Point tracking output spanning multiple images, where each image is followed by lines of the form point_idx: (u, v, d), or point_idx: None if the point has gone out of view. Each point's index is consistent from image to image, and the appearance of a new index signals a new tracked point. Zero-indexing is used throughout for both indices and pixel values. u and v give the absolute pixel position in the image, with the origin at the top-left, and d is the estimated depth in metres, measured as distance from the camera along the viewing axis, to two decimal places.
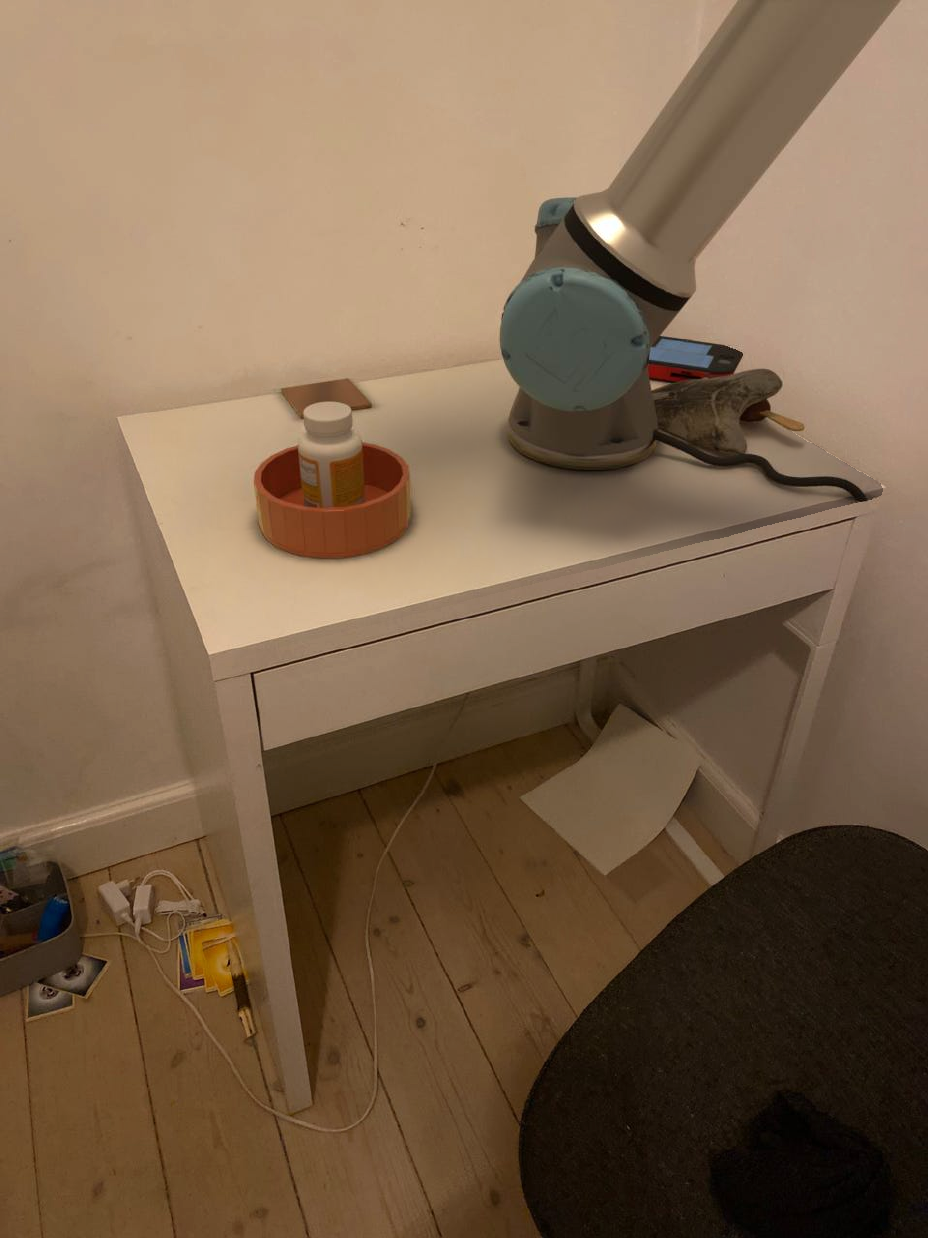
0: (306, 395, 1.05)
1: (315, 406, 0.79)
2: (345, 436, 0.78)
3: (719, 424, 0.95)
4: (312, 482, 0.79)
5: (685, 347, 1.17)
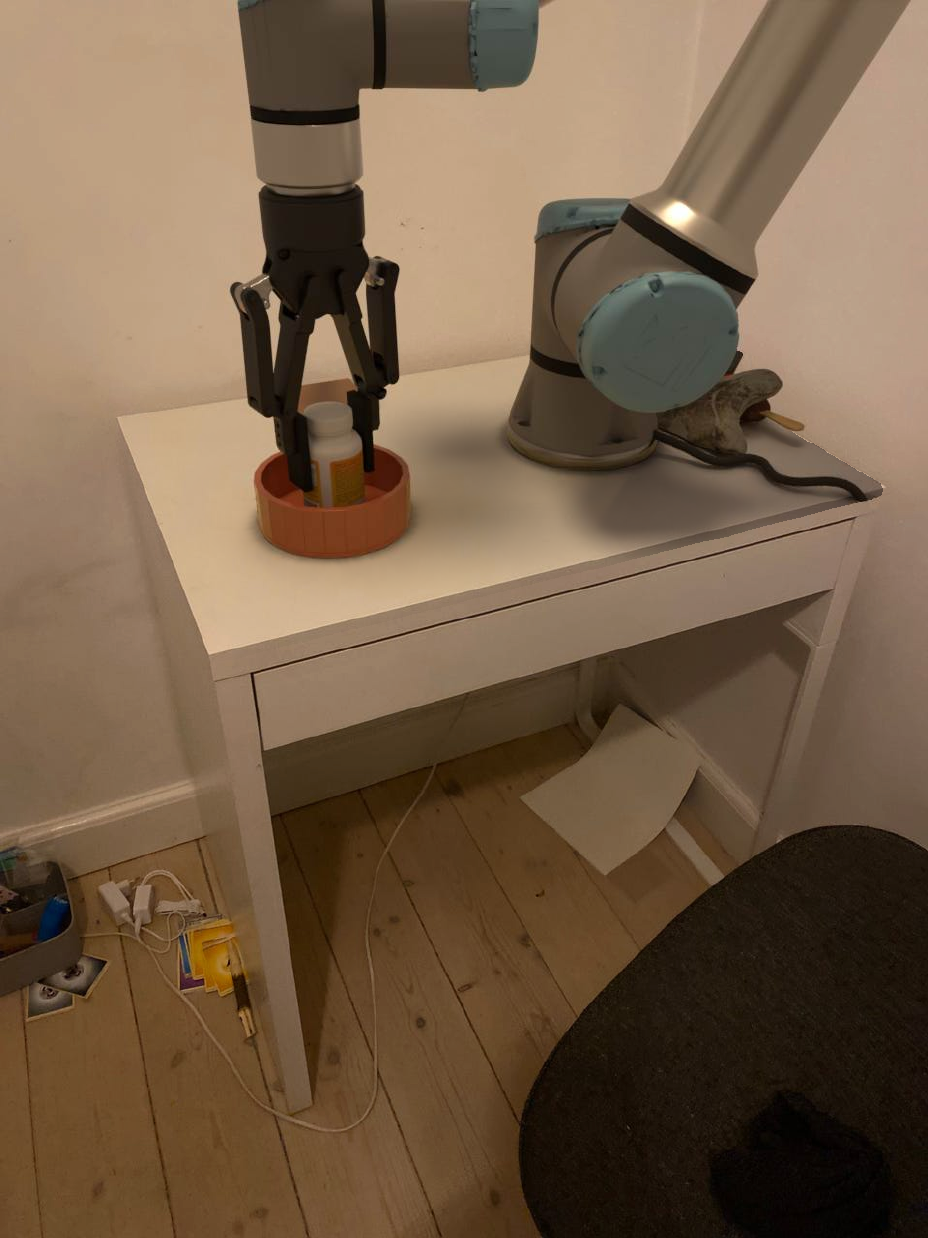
0: (306, 395, 1.05)
1: (315, 406, 0.79)
2: (345, 436, 0.78)
3: (719, 424, 0.95)
4: (312, 482, 0.79)
5: None
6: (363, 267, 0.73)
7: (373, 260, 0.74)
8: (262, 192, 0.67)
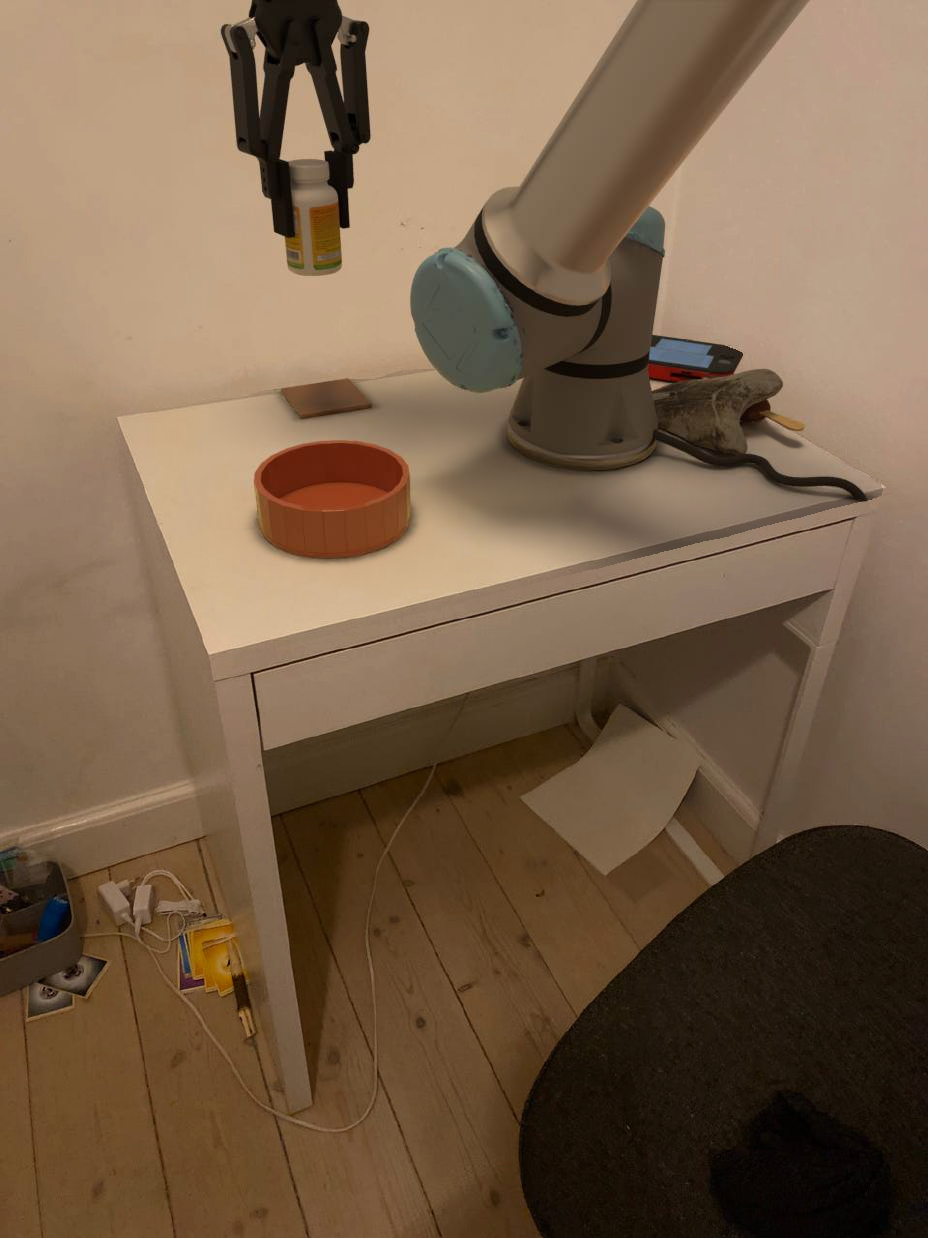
0: (306, 395, 1.05)
1: (296, 160, 0.89)
2: (322, 186, 0.89)
3: (720, 424, 0.95)
4: (294, 229, 0.90)
5: (685, 347, 1.17)
6: (337, 21, 0.83)
7: (346, 18, 0.84)
8: None
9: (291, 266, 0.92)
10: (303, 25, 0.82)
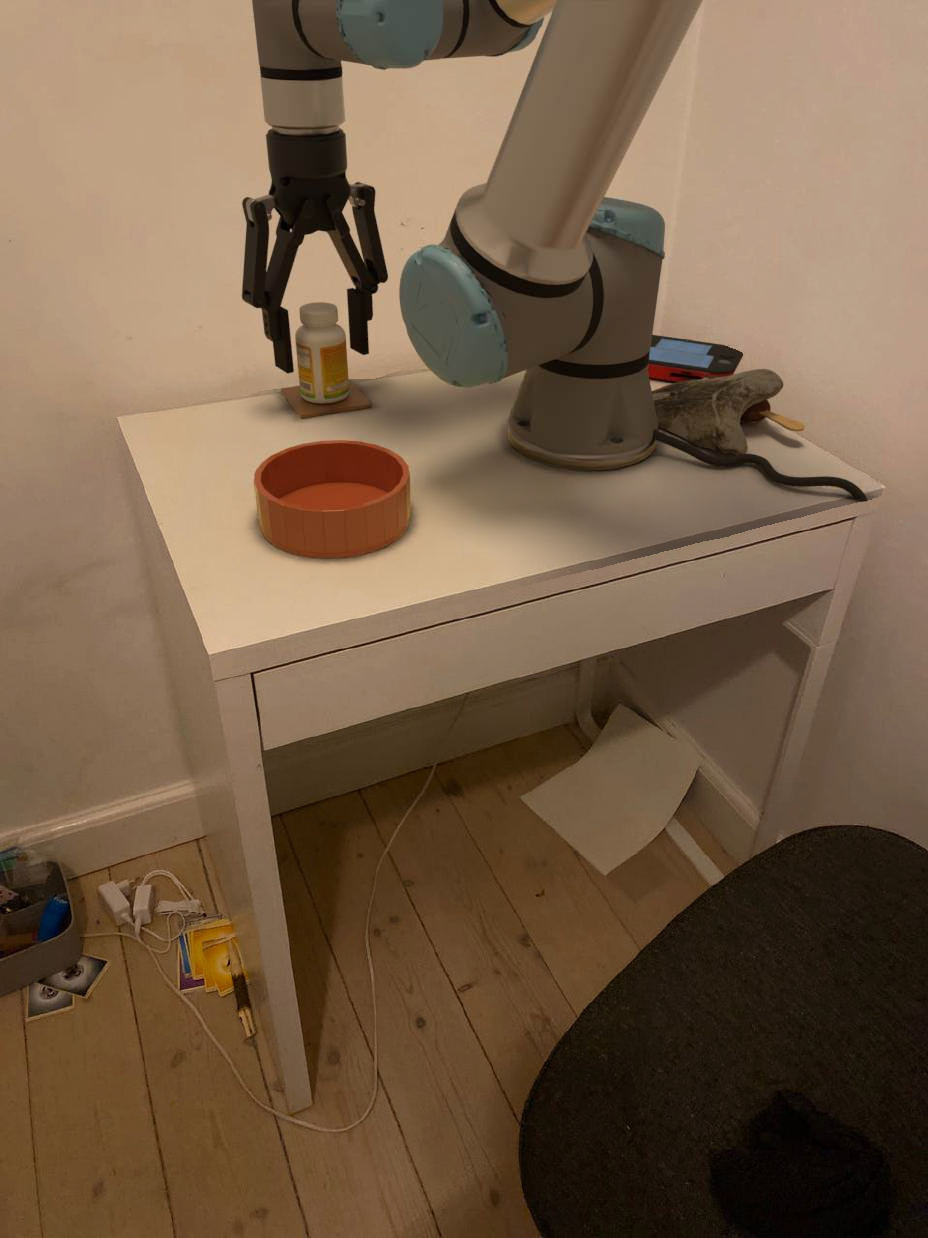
0: None
1: (308, 305, 1.01)
2: (332, 328, 1.00)
3: (720, 424, 0.95)
4: (306, 365, 1.01)
5: (685, 347, 1.17)
6: (346, 193, 0.94)
7: (354, 186, 0.95)
8: (268, 133, 0.89)
9: (304, 394, 1.04)
10: (316, 201, 0.93)
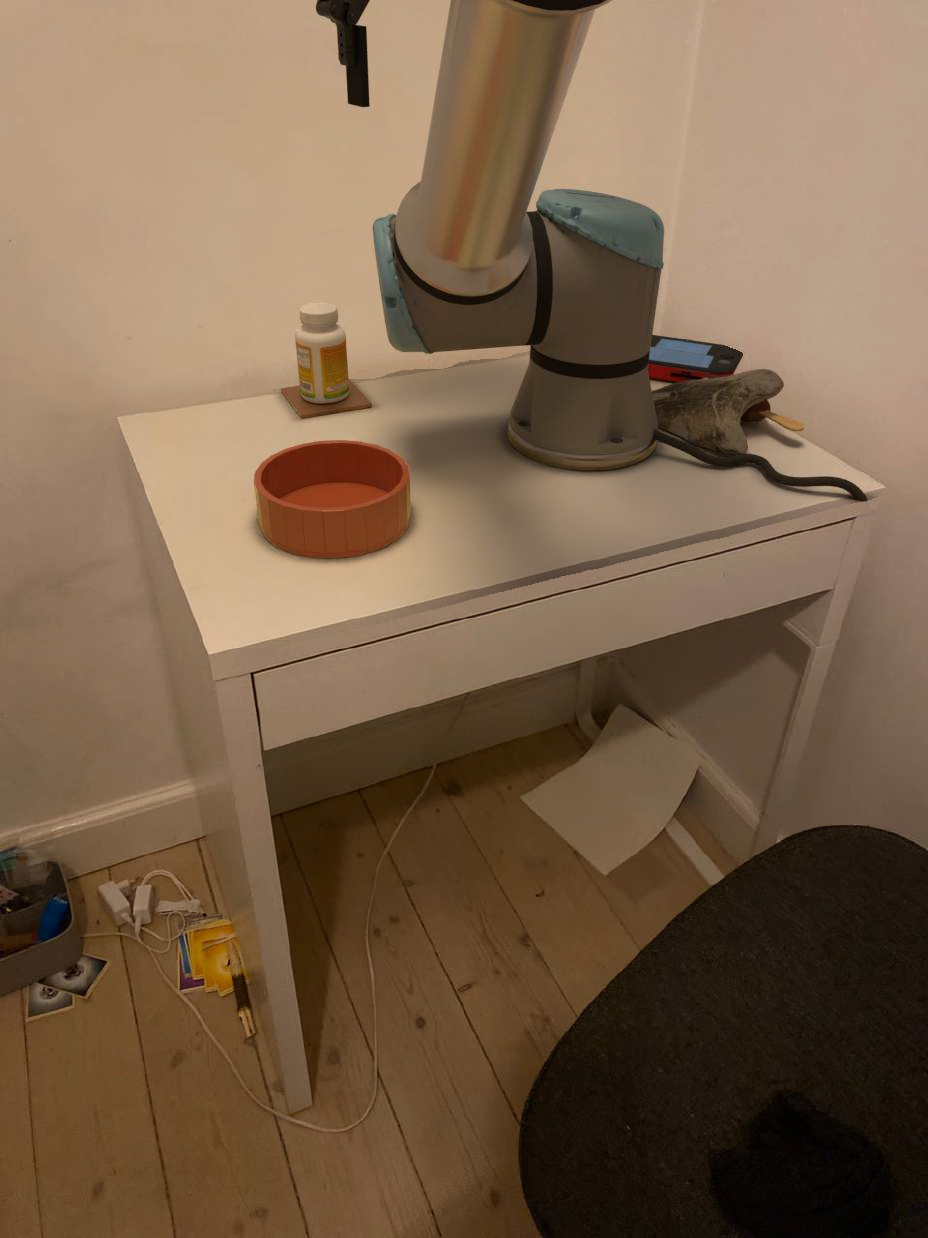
0: None
1: (308, 305, 1.01)
2: (332, 328, 1.00)
3: (720, 424, 0.95)
4: (306, 365, 1.01)
5: (685, 347, 1.17)
6: None
7: None
8: None
9: (304, 395, 1.04)
10: None
